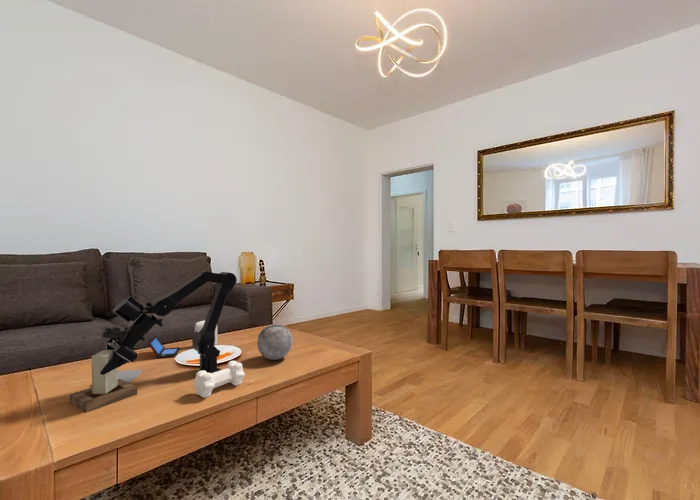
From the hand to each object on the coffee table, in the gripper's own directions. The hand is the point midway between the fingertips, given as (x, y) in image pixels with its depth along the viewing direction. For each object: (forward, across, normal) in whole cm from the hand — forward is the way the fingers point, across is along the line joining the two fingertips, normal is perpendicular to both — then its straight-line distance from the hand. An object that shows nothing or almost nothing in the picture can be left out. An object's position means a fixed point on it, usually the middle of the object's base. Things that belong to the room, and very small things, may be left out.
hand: (99, 370), depth 107 cm
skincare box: (+4, 0, +6) cm, 7 cm away
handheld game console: (-13, -34, +27) cm, 45 cm away
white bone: (-15, +19, +29) cm, 37 cm away
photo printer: (-26, -34, +40) cm, 58 cm away
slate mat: (+1, -16, +12) cm, 20 cm away
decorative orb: (-36, +6, +50) cm, 61 cm away
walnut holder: (+6, 0, +7) cm, 9 cm away
